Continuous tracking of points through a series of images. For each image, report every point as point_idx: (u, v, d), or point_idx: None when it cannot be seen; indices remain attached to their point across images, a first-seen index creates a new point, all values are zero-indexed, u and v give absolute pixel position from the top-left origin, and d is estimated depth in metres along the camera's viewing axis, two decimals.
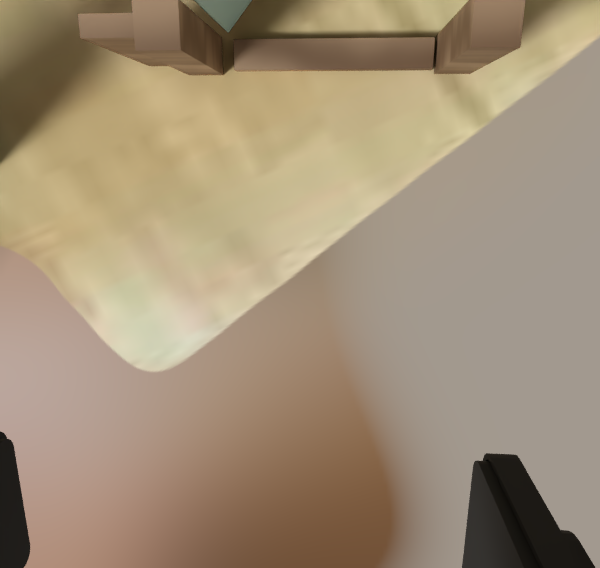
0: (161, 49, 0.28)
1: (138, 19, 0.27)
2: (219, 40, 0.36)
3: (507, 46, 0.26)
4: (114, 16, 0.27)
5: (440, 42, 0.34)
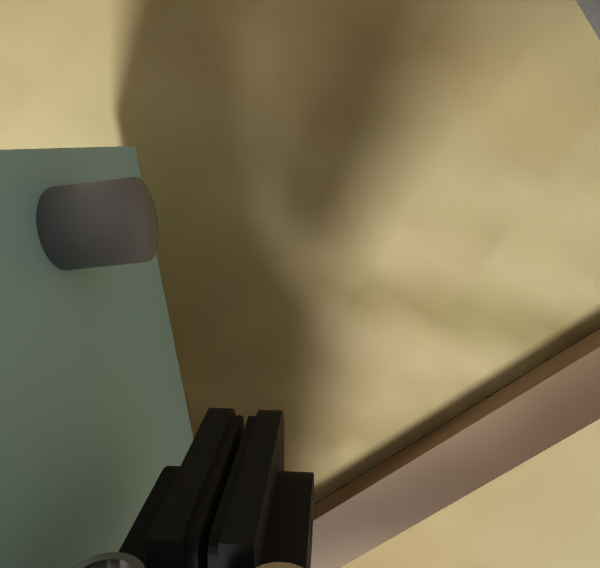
0: None
1: None
2: None
3: None
4: None
5: None
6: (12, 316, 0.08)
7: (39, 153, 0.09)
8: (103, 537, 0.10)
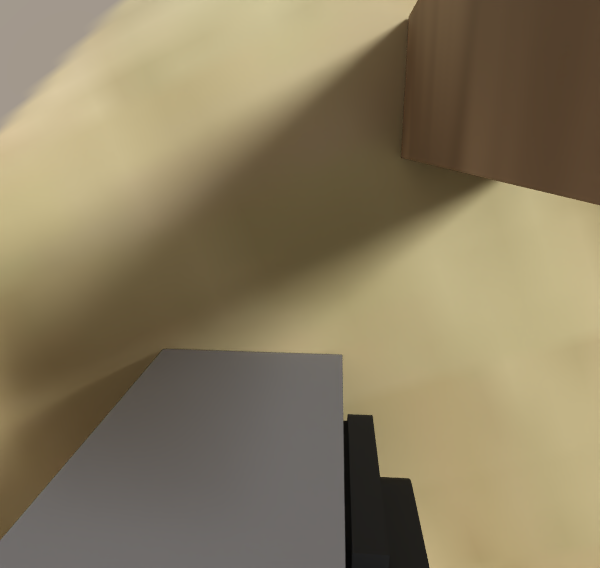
0: None
1: None
2: None
3: None
4: None
5: None
6: None
7: None
8: None
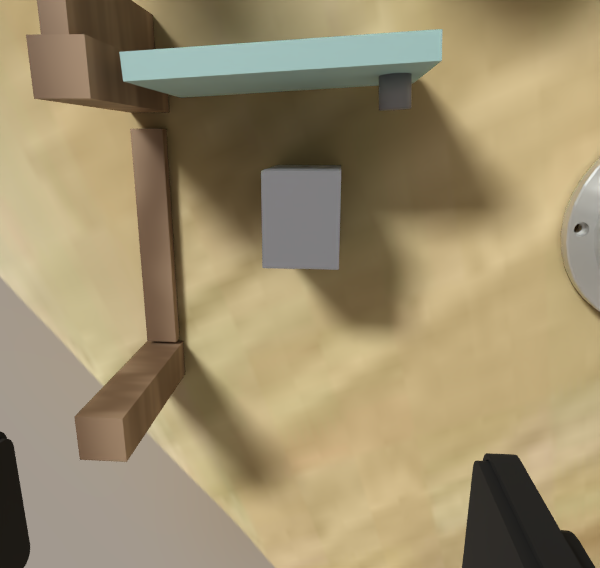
0: (32, 72, 0.22)
1: (62, 42, 0.21)
2: (159, 111, 0.31)
3: (79, 448, 0.27)
4: (62, 7, 0.21)
5: (165, 350, 0.34)
6: (375, 71, 0.23)
7: (424, 72, 0.25)
8: (270, 79, 0.25)
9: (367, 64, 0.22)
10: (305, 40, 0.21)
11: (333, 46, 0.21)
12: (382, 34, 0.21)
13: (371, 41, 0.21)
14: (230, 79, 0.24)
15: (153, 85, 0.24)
